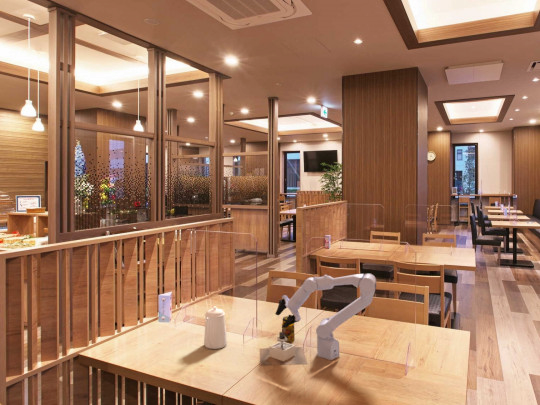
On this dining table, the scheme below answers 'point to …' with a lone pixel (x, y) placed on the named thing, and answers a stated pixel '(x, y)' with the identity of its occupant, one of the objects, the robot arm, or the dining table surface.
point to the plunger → (282, 339)
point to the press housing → (282, 352)
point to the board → (267, 360)
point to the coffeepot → (215, 329)
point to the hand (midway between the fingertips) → (280, 320)
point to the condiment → (288, 331)
